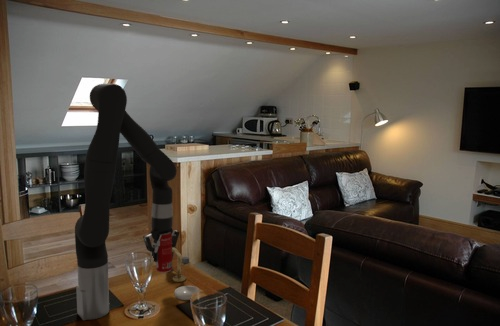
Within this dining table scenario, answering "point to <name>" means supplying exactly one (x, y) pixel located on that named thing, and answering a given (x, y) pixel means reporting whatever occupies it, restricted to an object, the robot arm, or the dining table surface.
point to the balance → (184, 263)
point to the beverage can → (165, 253)
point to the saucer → (185, 292)
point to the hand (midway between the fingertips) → (161, 259)
